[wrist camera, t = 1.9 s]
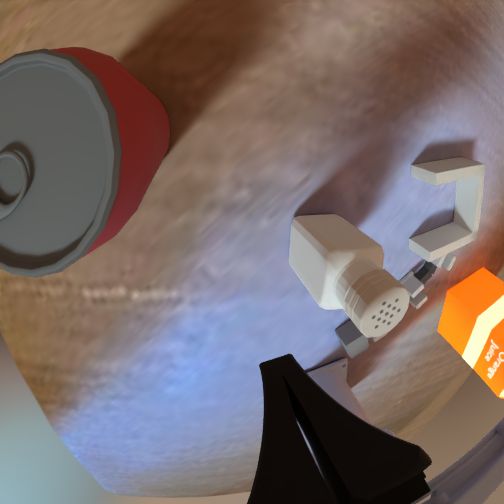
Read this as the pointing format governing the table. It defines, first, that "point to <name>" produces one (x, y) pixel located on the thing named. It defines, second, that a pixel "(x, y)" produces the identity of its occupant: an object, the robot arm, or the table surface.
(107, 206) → the beer can
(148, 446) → the table surface
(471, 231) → the end holder
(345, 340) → the cable route
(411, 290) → the clips
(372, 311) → the pepper shaker
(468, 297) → the orange juice
